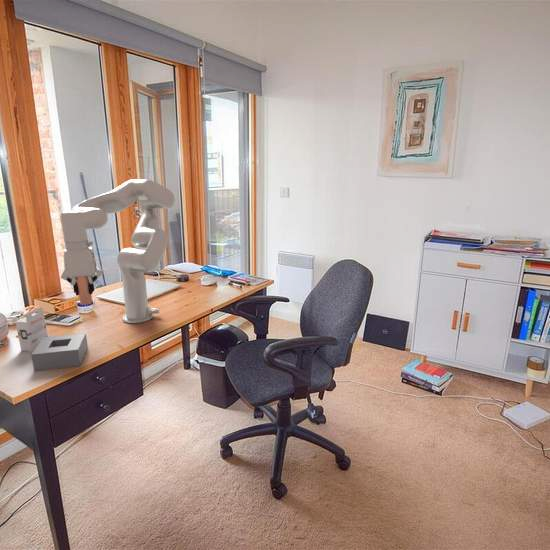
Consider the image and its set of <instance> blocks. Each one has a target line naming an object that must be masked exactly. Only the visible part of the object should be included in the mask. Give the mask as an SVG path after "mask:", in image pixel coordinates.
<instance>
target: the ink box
mask: <svg viewBox="0 0 550 550" xmlns="http://www.w3.org/2000/svg"><path fill="white" fill-rule="evenodd" d="M43 310H44V309H43V306H40V307H38V308H35V309H33V310H31V311H28V312H26V313H25V316H24V317H22V318H19V319H18V320H16V321H15V328H16V331H17V337H18V341H19V347H20V351H21V352H30V353H33V351H34V350H35V348H36V347H37V346H38V344H39V343H40V341H41V340H42V339H43V337H49V335H48V330H47V324H46V320H45V319H46V318H45V313H44V311H43Z"/></svg>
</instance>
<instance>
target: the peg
mask: <svg viewBox="0 0 550 550" xmlns="http://www.w3.org/2000/svg"><path fill="white" fill-rule="evenodd" d="M76 280H77V286H78V292H79V295H78V299H79V303H80V306H87V305H90V304H92V303H93V299H92V294H90V293H89V287H88V284H89V280H88V277H87V276H79V277H76Z"/></svg>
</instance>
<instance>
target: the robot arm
mask: <svg viewBox="0 0 550 550" xmlns="http://www.w3.org/2000/svg"><path fill="white" fill-rule="evenodd" d="M175 199H176V198H175V194H174V193H173V192H172V190H171V189H169V188H168V187H165V186H164V185H162V184H160V183H158V182H156V181H154V180H152V179H146V178H145V179H143V178H142V179H140V178H139V179H138V178H137V179H136V178H135V179H133V178H132V179H129V180H127V181H125V182H123V183H122V184H121V185H119V186H117V187H116V188H114V189H112V190H110V191H108V192H106V193H102V194H100V195H97V196H94V197H89V198H88V199H85V200H83V201H82V202H80V203H78V204H76V205H74V206H73V207H72V208H71V209H70V210H65V211H62V212H61V213H60V221H61V222H60V223H61V227H62V228H61V229H62V233H63V240H64V246H65V249H64V250H63V265H64V266H63V267H64V270H63V271H62V274H61V275H60V279H62V280H64V281H66V282H68V283H69V284H71V286H72V287H73V293H74V294H75V295H76V297H77V296H78V297H79V292H78V286H77V280H76V277H79V276H87V277H88V280H89V284H88V287H89V293H90V294H91V295H93V293H94V292H95V283H94V282H95V281H96V280H97V279H98V278H100V277H102V275H103V272H102V271H101V270H100V268H99V267H98V266H97V262H96V257H95V254H94V251H93V250H94V249H93V248H92V247H90V246H94V241H91V240H89V237H88V231H87V230H96V229H101V228H103V227H104V226H106V224H107V223H108V214H114V213H115V214H116V213H119V212H123V211H124V210H126V209H127V208H129V207H130V206H132V205H133V204H134V203H136V202H138V205H139V207H140V213H141V214H140V215H141V216H140V219H139V221H138V223H137V225H136V227H135V228H134V230H133V232H132V235H131V238H130V243H131V244H132V246H133V247H125V248H122V249H121V250H120V251H119V252H118V253H117V257H116V259H117V260H116V261H117V265H118V268H119V271H120V272H119V273H120V275H121V282H122V290H123V297H124V298H123V299H124V309H125V314H124V315H123V316H122V321H123V322H125V323H126V324H140V323H144V322H147V321H150V320H152V319H153V316H154V315H153V314H160V309H158V308H156V307H153V308H151V307H150V305H149V301H148V291H147V281H146V276H145V274H144V273H152V272H153V271H156V269H157V268H158V266H159V264H160V262H161V260H162V257H163V255H164V253H165V252H166V250H167V249H166V248H167V247H168V243H169V237H168V234H167V232H166V231H165V230H164V229H162V228H159V227H160V224H161V219H160V216H159V213H158V211H157V209H160V210H168V209H171V208H172V207H174V205H175V202H176V201H175Z"/></svg>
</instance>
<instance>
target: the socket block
mask: <svg viewBox="0 0 550 550" xmlns="http://www.w3.org/2000/svg"><path fill="white" fill-rule="evenodd" d="M87 338H88V337H87V333H86V332H83V333H82V332H80V333H72V334H62V335H61V334H60V335H51V336H49V335H48V337H43V339H42V340H41V341H40V343H39V344H38V346H37V347H36V348H35V350H34V351H33V352H31V353H30V357H31V361H32V368H33V372H38V371H45V370H46V371H47V370H52V369H55V370H56V369H63V368H64V367H65V368H71V367H78V366H79V367H80V366H81V365H82V362H83V360H84V358H85V356H86V353H87V352H88V348H89V345H88V339H87Z"/></svg>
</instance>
